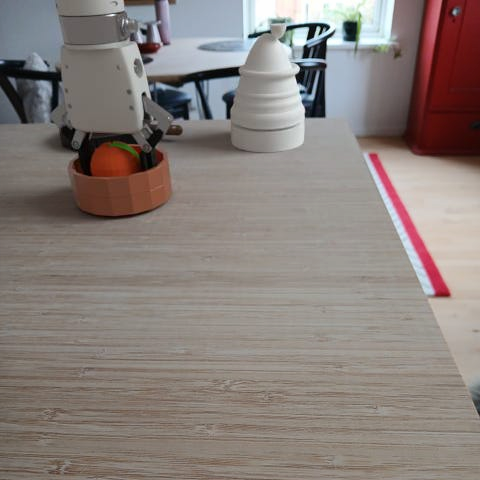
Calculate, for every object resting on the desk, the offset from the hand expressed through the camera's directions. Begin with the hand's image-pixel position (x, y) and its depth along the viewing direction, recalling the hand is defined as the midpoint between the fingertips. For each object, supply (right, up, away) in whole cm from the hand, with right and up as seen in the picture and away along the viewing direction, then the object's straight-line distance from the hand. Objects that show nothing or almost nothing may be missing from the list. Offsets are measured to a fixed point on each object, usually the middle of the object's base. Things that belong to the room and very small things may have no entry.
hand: (120, 176), depth 70 cm
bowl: (0, -3, +2) cm, 3 cm away
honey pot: (+21, +12, +21) cm, 32 cm away
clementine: (0, -2, +2) cm, 3 cm away
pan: (-5, +14, +24) cm, 29 cm away
